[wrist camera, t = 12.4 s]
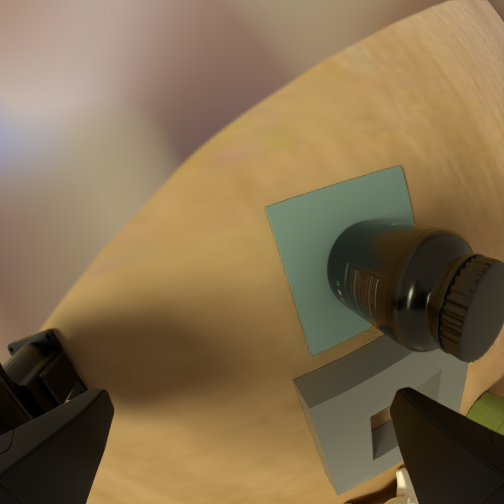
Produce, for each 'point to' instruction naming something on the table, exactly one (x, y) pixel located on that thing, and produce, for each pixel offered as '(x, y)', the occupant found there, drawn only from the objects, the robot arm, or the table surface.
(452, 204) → the table surface
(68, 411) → the robot arm
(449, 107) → the table surface
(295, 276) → the mat
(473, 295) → the supplement bottle
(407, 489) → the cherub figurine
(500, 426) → the plant pot
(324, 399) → the pocket holder
